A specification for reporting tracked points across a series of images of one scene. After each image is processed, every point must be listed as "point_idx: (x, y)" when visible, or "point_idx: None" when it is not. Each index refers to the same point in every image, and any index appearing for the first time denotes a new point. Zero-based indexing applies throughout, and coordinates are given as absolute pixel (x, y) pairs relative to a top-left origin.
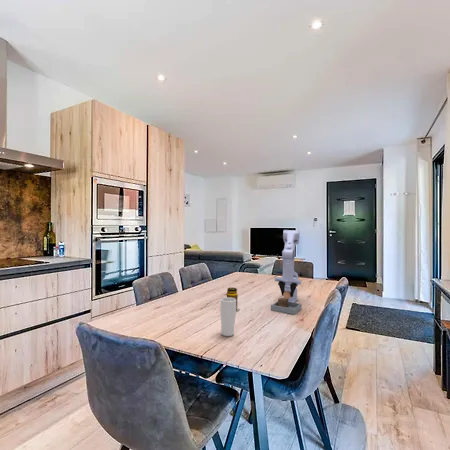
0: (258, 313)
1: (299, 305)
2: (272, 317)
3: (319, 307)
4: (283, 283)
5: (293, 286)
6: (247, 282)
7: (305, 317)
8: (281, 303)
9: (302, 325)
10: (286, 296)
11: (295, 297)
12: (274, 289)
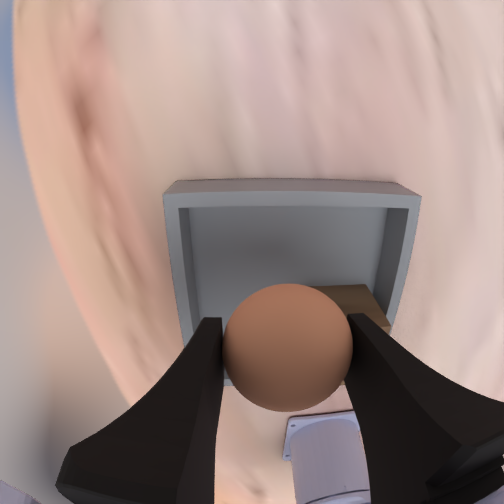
0: (443, 56)
1: (184, 344)
2: (313, 7)
3: None
4: (408, 494)
5: (85, 452)
6: None
7: (83, 190)
8: (346, 307)
9: (51, 15)
10: (279, 290)
11: (291, 457)
12: None
